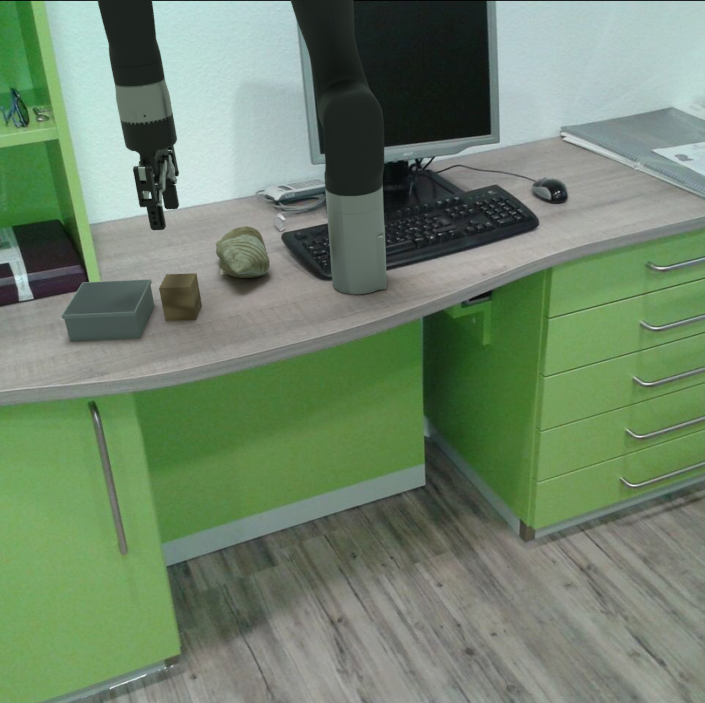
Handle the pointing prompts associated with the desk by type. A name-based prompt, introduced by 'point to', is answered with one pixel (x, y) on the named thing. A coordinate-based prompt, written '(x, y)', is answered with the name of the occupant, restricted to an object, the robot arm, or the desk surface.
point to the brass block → (180, 297)
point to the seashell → (243, 253)
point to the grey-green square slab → (109, 310)
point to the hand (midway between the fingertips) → (165, 218)
